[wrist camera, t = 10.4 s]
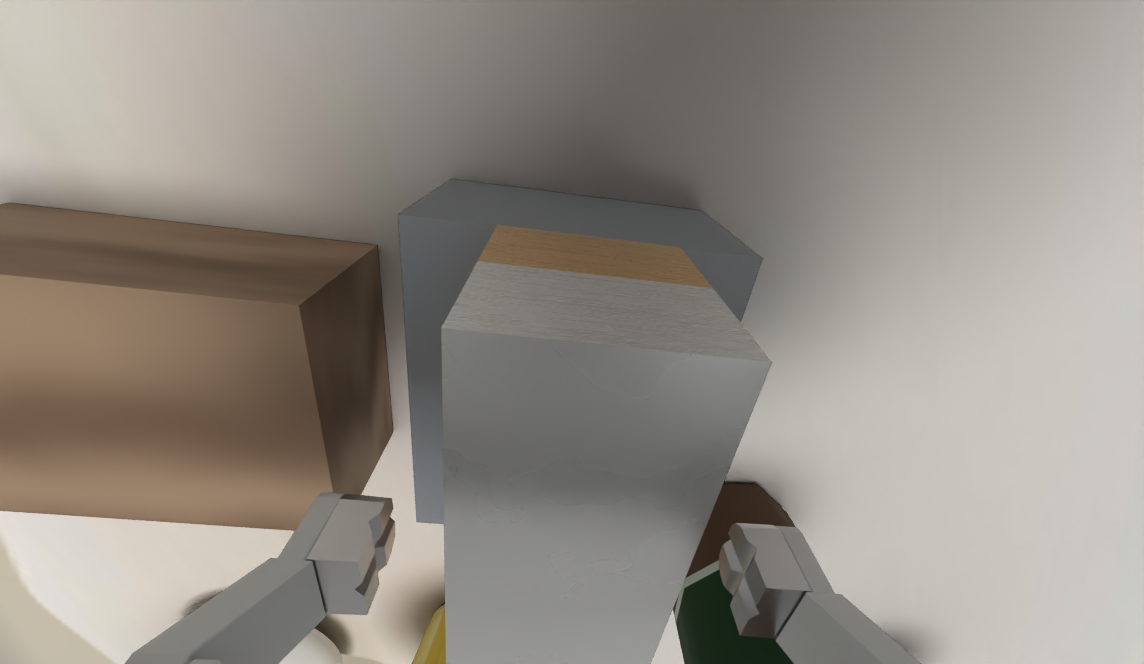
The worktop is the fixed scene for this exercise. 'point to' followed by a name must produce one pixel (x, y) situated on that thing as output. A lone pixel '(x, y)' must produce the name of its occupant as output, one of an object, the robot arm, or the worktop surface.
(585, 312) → the grey and tan block
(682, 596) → the beer bottle
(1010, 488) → the worktop surface
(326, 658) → the flower in vase
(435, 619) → the plant pot
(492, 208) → the stand
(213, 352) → the stand
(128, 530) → the worktop surface
